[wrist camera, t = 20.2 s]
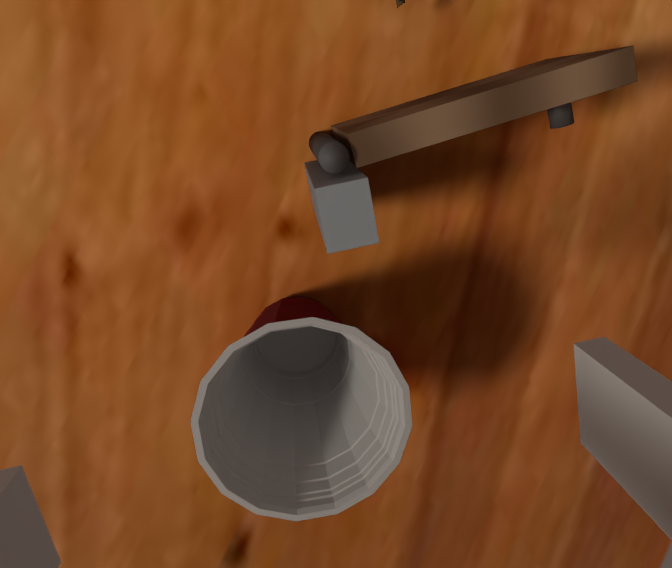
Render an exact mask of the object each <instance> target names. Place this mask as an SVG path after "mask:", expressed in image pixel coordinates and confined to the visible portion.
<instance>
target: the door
mask: <svg viewBox="0 0 672 568" xmlns="http://www.w3.org/2000/svg"><path fill="white" fill-rule="evenodd" d="M634 82H637V74H636V65H635V56H634V47H633V46H629V47H622V48H616V49H609V50H603V51H596V52H590V53H584V54H577V55H571V56H564V57H558V58H552V59H546V60H542V61H539V62H536V63H533V64H529V65H526V66H523V67H520V68H517V69H513V70H510V71H507V72H504V73H500V74H497V75H494V76H491V77H487V78H484V79H481V80H478V81H474V82H471V83H468V84H465V85H461V86H458V87H455V88H452V89H448V90H445V91H442V92H439V93H436V94H432V95H429V96H426V97H423V98H419V99H416V100H413V101H410V102H406V103H403V104H400V105H397V106H393V107H390V108H387V109H384V110H380V111H377V112H374V113H371V114H367V115H364V116H361V117H358V118H355V119H351V120H348V121H345V122H342V123H338V124H335V125H332V126H331V128H332V131H333V135H334V138H335V139H334V138H333V137H331V136H330V135H329V134H327V133H325V132H322V131H319V132H315V133H314V134H313V135H312V136H311V137H310V140H309V147H310V149H311V151H312V152H313V154H314V155H315V157H316V159H317V160H318V162H319V163H320V165H321V167H322V168H323V169H324V170H325V171H327V172H329V173H339V172H341V171H343V170H344V169H345V168H346V167H347V166H348V164H349V162H351V163H352V164H353V165H354V166H355V167H356V168H359V167H362V166H365V165H369V164H372V163H375V162H378V161H382V160H385V159H388V158H391V157H395V156H398V155H401V154H404V153H407V152H411V151H414V150H417V149H420V148H424V147H427V146H430V145H433V144H437V143H440V142H443V141H446V140H450V139H453V138H456V137H459V136H463V135H466V134H469V133H472V132H476V131H479V130H482V129H485V128H489V127H492V126H495V125H498V124H501V123H505V122H508V121H511V120H514V119H518V118H521V117H524V116H527V115H531V114H534V113H537V112H540V111H544V110H548V116H549V122H550V128H551V129H554V128H560V127H565V126H568V125H571V124H573V123H574V118H573V111H572V105H571V102H573V101H576V100H579V99H583V98H586V97H589V96H592V95H595V94H599V93H602V92H605V91H608V90H612V89H615V88H618V87H621V86H625V85H628V84H631V83H634Z"/></svg>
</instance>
